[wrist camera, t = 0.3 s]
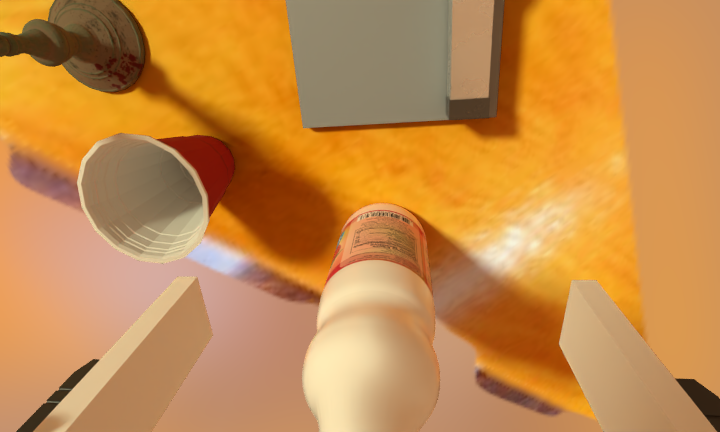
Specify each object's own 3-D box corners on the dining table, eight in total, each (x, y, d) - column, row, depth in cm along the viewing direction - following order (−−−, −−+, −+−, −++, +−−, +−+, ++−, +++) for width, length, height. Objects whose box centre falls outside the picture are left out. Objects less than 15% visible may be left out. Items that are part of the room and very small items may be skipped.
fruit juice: (440, 255, 43) (494, 566, 18) (367, 286, 46) (324, 593, 21) (401, 185, 40) (401, 440, 15) (325, 222, 43) (216, 491, 18)
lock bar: (440, -84, 29) (444, -96, 26) (501, -91, 28) (512, -105, 26) (438, 114, 35) (442, 121, 32) (489, 110, 34) (497, 117, 32)
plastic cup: (244, 101, 38) (181, 127, 27) (268, 202, 43) (223, 259, 32) (143, 113, 40) (46, 143, 29) (177, 210, 44) (104, 267, 33)
